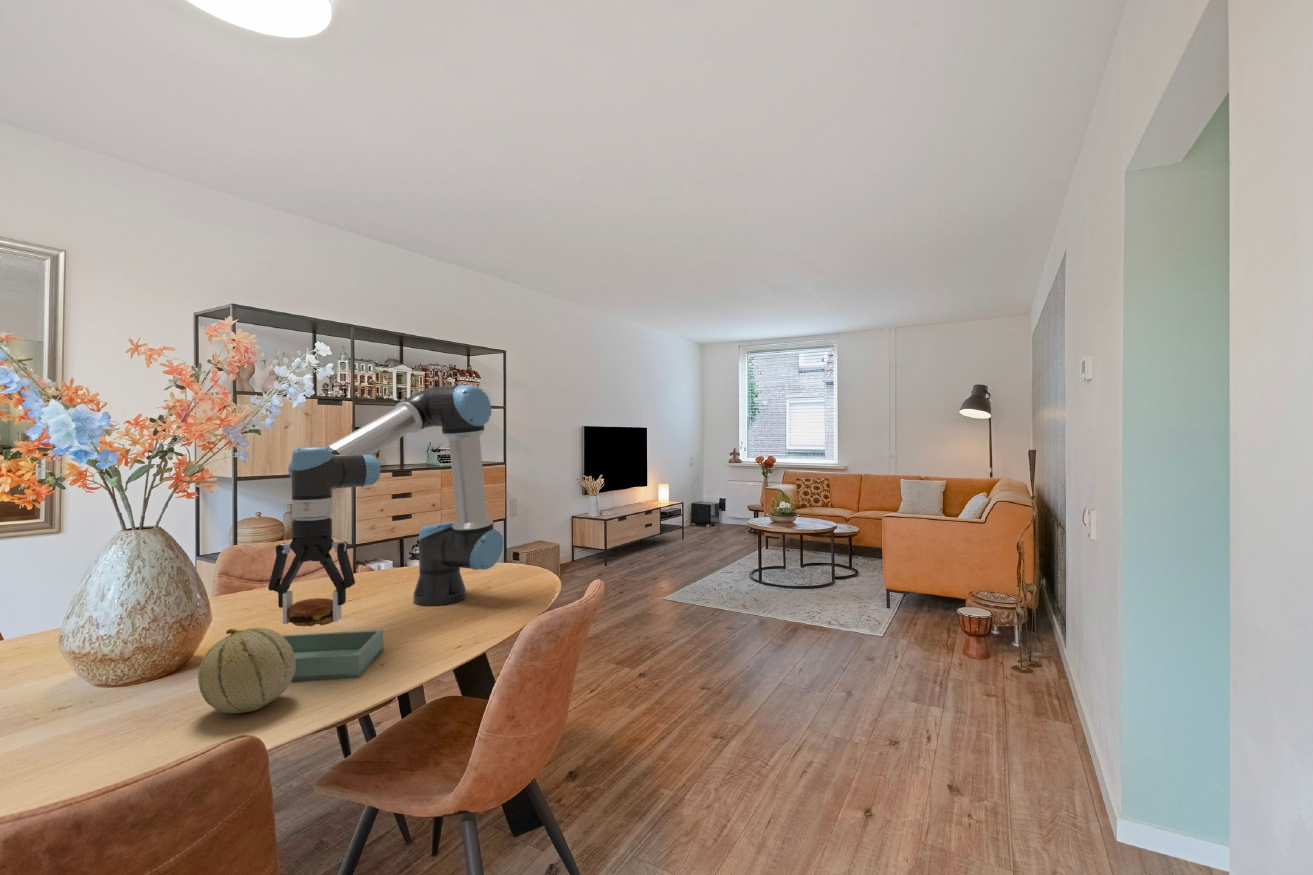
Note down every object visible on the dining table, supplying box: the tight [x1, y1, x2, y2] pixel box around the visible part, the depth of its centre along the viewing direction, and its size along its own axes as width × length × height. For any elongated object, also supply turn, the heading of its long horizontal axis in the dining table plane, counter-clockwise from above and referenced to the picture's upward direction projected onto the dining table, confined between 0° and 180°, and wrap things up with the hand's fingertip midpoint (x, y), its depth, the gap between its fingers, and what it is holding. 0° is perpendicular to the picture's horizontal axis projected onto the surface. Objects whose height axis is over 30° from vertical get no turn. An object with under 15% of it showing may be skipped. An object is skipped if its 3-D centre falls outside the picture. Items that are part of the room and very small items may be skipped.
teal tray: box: [281, 629, 384, 682], centre depth 128 cm, size 16×24×4 cm, turn 98°
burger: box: [288, 597, 334, 627], centre depth 129 cm, size 10×9×5 cm
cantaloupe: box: [197, 627, 296, 714], centre depth 108 cm, size 15×15×15 cm
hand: (312, 620), depth 128 cm, fingers closed on burger, 9 cm apart
